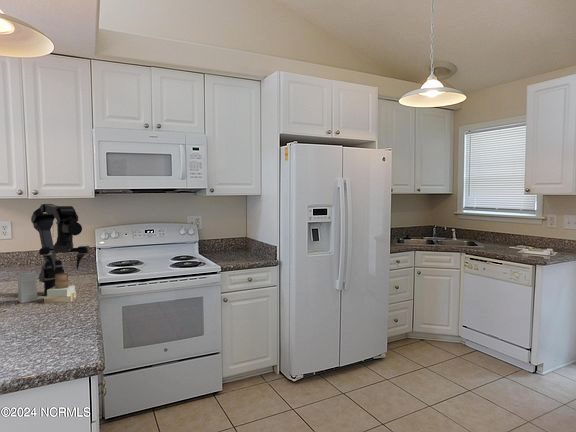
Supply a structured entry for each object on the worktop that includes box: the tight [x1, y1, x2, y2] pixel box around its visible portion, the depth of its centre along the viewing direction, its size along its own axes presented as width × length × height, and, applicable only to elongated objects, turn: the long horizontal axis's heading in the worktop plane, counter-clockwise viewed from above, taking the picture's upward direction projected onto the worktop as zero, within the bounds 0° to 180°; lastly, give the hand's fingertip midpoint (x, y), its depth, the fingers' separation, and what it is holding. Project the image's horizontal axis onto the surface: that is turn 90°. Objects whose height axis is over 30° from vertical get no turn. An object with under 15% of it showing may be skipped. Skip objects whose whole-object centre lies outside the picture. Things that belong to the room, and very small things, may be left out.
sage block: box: [46, 285, 76, 297], centre depth 167 cm, size 8×8×3 cm
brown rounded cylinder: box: [55, 272, 69, 289], centre depth 167 cm, size 5×5×6 cm
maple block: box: [43, 290, 77, 304], centre depth 167 cm, size 10×10×3 cm
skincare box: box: [17, 271, 38, 304], centre depth 165 cm, size 6×4×12 cm
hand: (65, 269), depth 168 cm, fingers open, 9 cm apart
